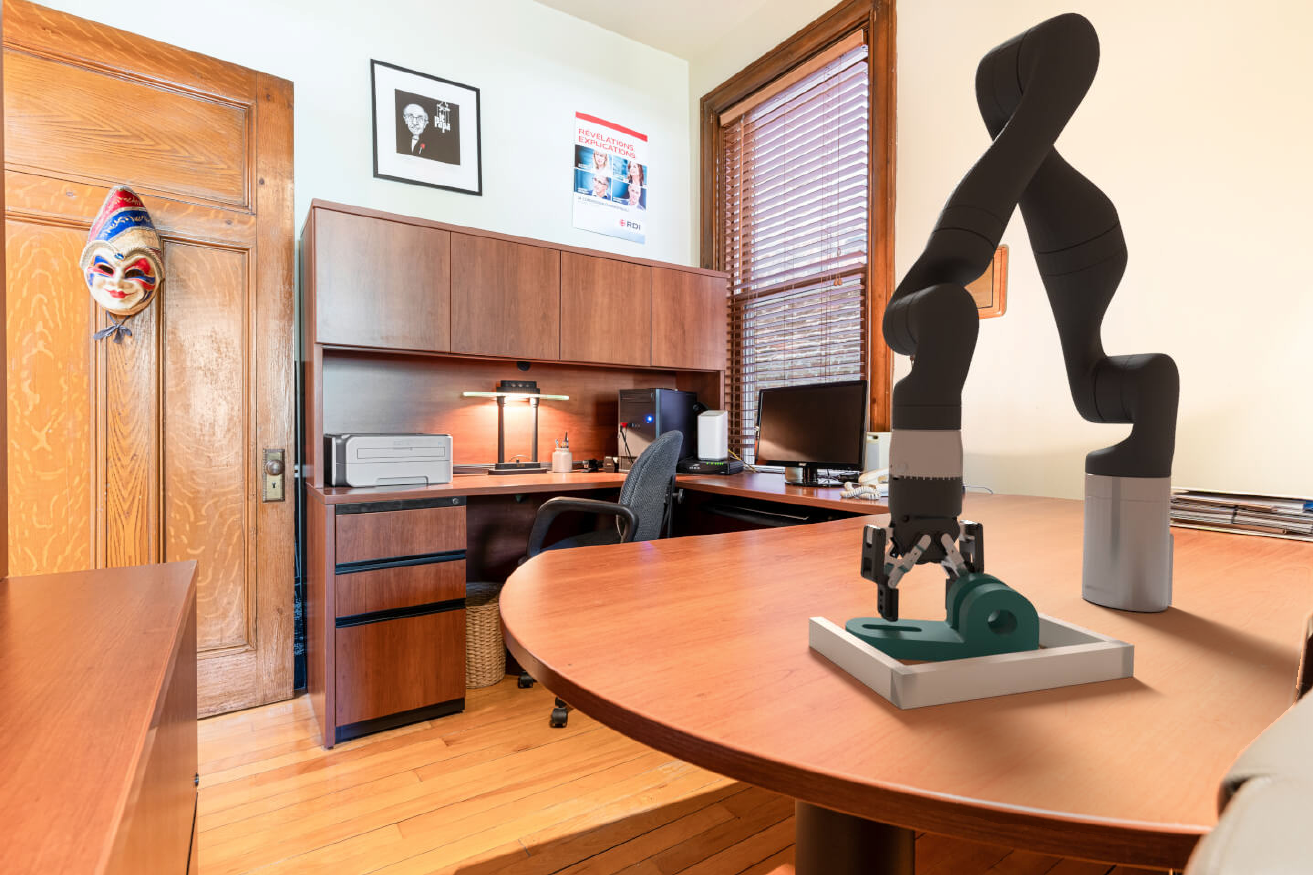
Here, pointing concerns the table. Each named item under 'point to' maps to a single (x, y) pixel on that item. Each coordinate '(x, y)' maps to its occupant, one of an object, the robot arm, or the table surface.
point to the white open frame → (979, 665)
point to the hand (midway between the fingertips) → (922, 616)
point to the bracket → (959, 625)
